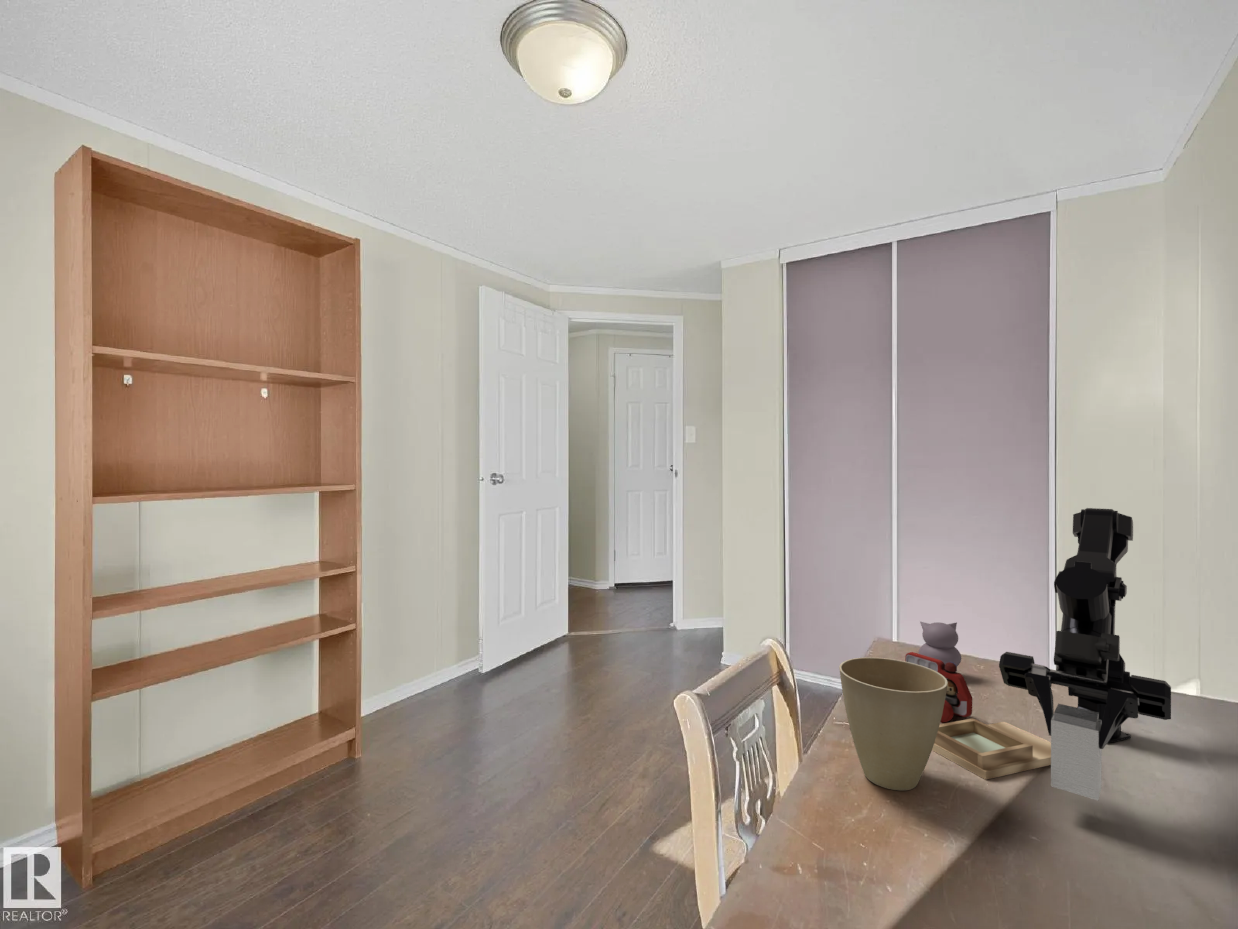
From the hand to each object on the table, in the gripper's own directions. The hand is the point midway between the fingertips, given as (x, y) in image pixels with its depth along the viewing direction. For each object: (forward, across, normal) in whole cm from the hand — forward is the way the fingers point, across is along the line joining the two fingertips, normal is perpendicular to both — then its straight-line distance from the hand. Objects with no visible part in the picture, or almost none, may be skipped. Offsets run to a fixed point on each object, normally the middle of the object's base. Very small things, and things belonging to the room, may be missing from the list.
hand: (1075, 740), depth 79 cm
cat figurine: (-25, -29, +41) cm, 56 cm away
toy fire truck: (-10, -24, +26) cm, 36 cm away
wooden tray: (-3, -12, +18) cm, 22 cm away
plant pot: (+11, -22, +4) cm, 25 cm away
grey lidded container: (+4, 0, +6) cm, 7 cm away
